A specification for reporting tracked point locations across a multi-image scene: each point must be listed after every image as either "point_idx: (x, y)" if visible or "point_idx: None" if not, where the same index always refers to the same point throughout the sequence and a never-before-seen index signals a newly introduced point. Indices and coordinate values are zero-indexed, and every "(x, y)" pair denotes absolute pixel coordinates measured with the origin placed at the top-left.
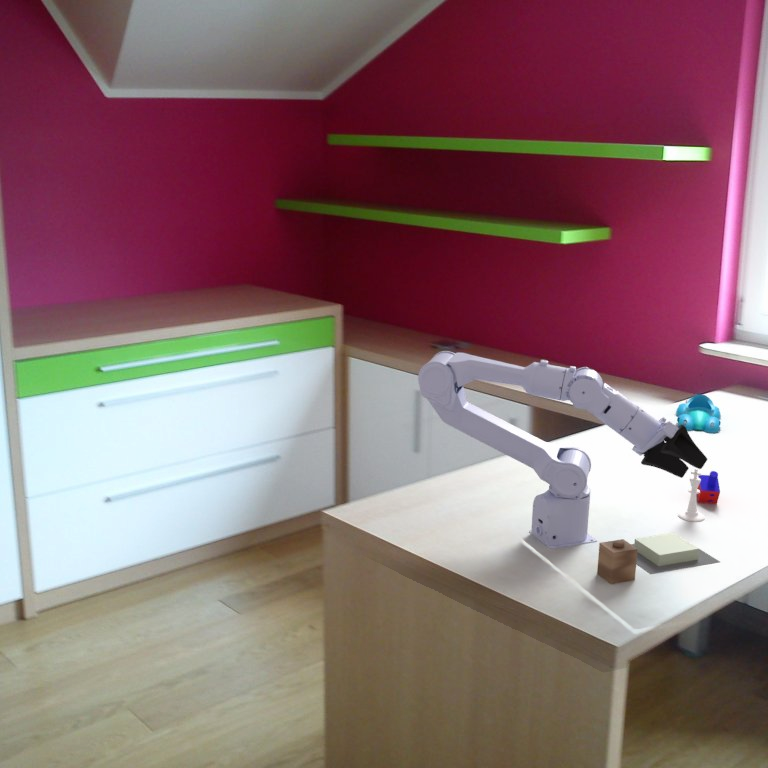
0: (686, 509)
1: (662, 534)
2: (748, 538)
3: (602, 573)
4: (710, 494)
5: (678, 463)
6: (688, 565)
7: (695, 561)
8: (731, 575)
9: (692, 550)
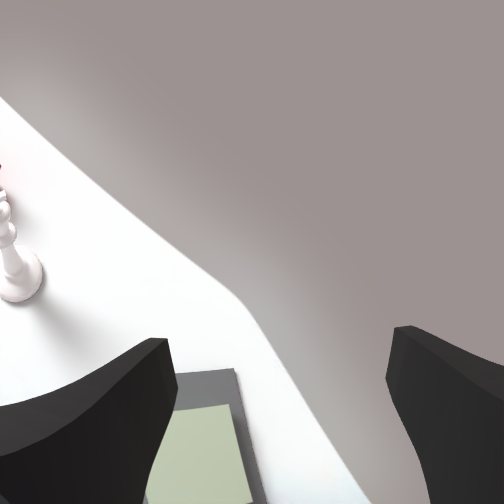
0: (1, 269)
1: None
2: (134, 240)
3: None
4: None
5: (148, 385)
6: (242, 439)
7: None
8: (273, 373)
9: (231, 421)
